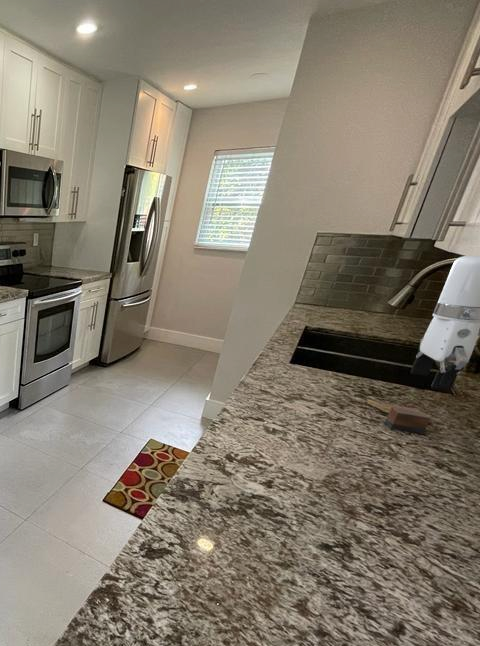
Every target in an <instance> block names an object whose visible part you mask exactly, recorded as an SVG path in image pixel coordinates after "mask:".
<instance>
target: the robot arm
mask: <svg viewBox="0 0 480 646" xmlns="http://www.w3.org/2000/svg"><path fill="white" fill-rule="evenodd" d="M432 317H433V318H432V319H431V321H430V323H429V325H428V327H427V328H426V331H425V333H424V335H423V337H422V338H420V341H419V346H418V348H417V351H418V352H417V354H416V355H415V359H414V363H413V365H412V368H411V370H410V373H411V374H412V375H420V376H429V375H430V373H431V370H432V367H433V365H434V363H435V361H436V362H438V363H439V371H437V372H436V374H435V376H434V378H433V380H432V384H431V388H432V389H438V390H446V391H450V390H452V388H453V386H454V383H455V381H456V379H457V377H458V375H460V374H461V372H462V371H463V370H464V369H465V367H466V365H467V364H468V363H469V362H470V359H471V356H472V354H473V351H474V349H475V346H476V343H477V340H478V337H479V333H480V255H463V256H459V257H458V258H456V259H455V260H454V262H453V264H452V266H451V269H450V271H449V273H448V275H447V278H446V281H445V284H444V286H443V288H442V291H441V293H440V295H439V298H438V301H437V302H436V306H435V307H434V310H433V313H432Z"/></svg>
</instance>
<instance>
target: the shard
mask: <svg viewBox="0 0 480 646" xmlns="http://www.w3.org/2000/svg"><path fill="white" fill-rule="evenodd" d="M366 401H367V402H366V403H367V405H370V406H372V407H374V408H377V409H379V410H381V411H383V412H385V413H388V414H389V412H390V410H391V407H394V408H400V409H407V410H413V411H419V412H421V411H420V410H418V409H415V408H412V407H408V406H404V405H401V404H395V403H390V402H385V401H380V400H375V399H372V398H371V399H370V398H366ZM425 414H426V415H427V416H429V417H430V418H431V416H430V414H427V413H425Z"/></svg>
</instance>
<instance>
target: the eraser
mask: <svg viewBox="0 0 480 646" xmlns="http://www.w3.org/2000/svg"><path fill="white" fill-rule="evenodd" d="M419 411H420V410H418V411H413V410H407V409H400V408H394V407H391V410H390V412H389V413H388V415H387V417H386V419H385V421H384V424H385V425H386V426H388V428H389V429H391V430H397V431H402V432H407V433H413V434H419V435H423V434H425V433H424V432H425V430H426V429H427V426H428V425H429V423H430V421H431V416H430V417H429V416H427V415H428V414H427V413H425V412H424V411H420V412H419ZM426 414H427V415H426Z"/></svg>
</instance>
